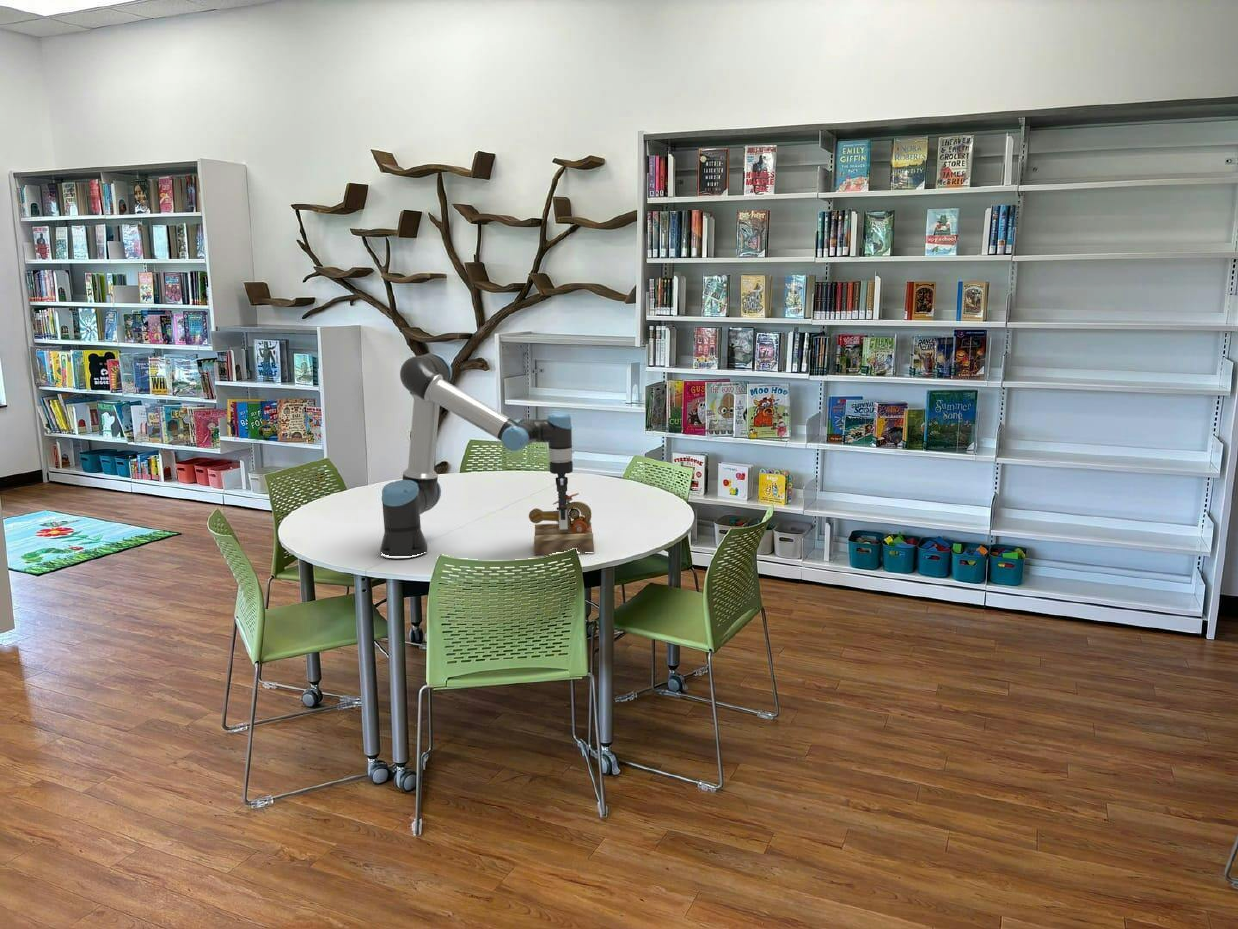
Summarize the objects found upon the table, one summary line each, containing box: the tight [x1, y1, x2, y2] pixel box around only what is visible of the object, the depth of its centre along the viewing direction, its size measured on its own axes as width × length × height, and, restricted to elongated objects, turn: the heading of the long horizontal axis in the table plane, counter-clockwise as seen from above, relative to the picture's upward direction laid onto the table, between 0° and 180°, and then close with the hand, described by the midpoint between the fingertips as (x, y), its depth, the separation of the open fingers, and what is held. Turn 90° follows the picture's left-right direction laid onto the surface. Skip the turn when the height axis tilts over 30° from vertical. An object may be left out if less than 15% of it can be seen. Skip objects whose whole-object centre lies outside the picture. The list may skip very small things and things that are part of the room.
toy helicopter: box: [528, 492, 592, 534], centre depth 309 cm, size 8×21×14 cm, turn 84°
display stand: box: [533, 521, 595, 557], centre depth 310 cm, size 19×16×6 cm
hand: (563, 524), depth 309 cm, fingers open, 13 cm apart
